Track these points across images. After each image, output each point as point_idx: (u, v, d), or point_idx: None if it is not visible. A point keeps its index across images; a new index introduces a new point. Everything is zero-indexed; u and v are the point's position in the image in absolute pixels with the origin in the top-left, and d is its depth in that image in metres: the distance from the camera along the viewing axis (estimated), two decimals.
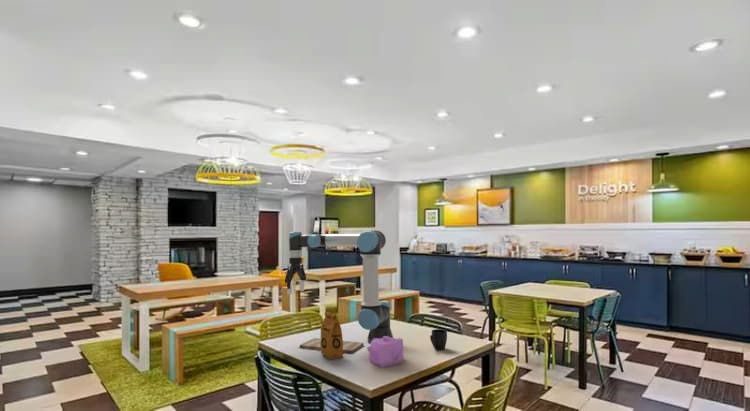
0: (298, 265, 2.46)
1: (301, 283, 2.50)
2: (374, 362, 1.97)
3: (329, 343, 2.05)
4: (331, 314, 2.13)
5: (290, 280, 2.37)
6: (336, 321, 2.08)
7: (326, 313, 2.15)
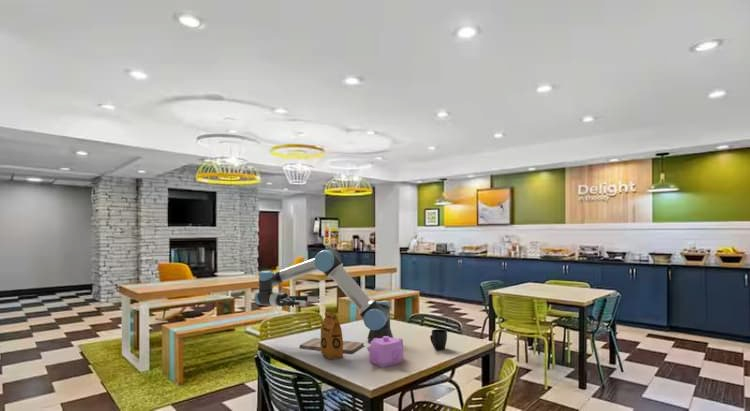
0: None
1: (310, 299, 2.33)
2: (374, 362, 1.97)
3: (329, 343, 2.05)
4: (331, 314, 2.13)
5: (291, 300, 2.21)
6: (336, 321, 2.08)
7: (326, 313, 2.15)
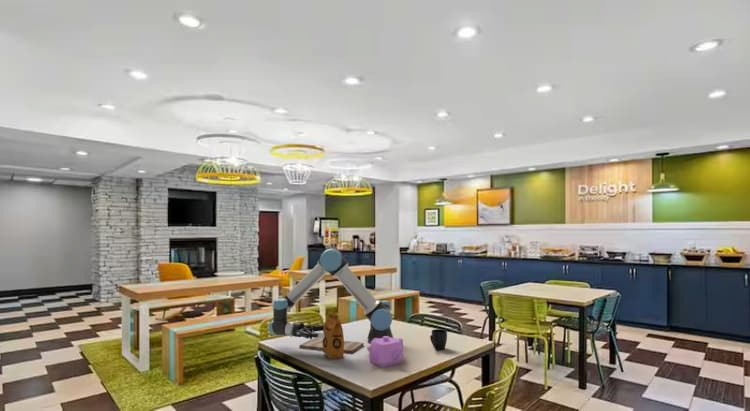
0: (305, 327, 2.18)
1: None
2: (374, 362, 1.97)
3: (329, 343, 2.04)
4: (334, 314, 2.12)
5: (309, 332, 2.07)
6: (337, 321, 2.07)
7: (329, 312, 2.14)
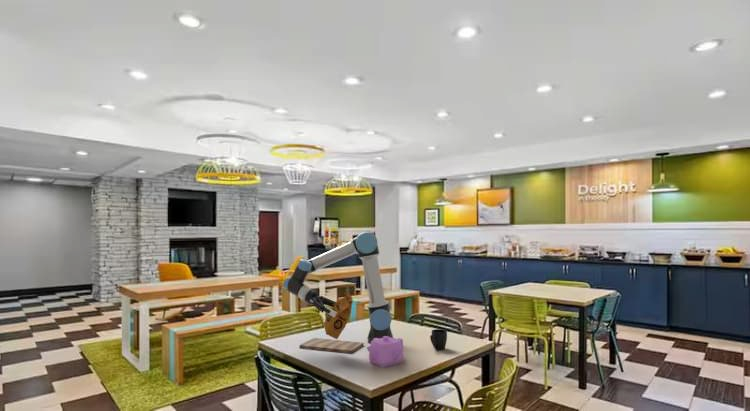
0: (317, 296, 2.22)
1: None
2: (374, 362, 1.97)
3: (332, 320, 2.10)
4: (350, 298, 2.16)
5: (323, 305, 2.11)
6: (349, 307, 2.11)
7: (347, 294, 2.18)
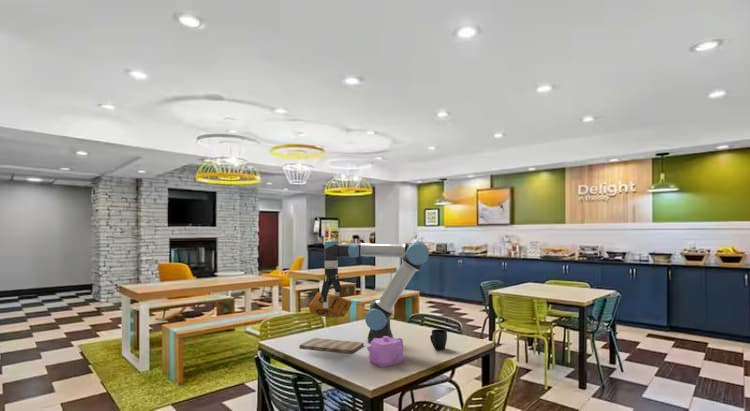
0: (334, 276, 2.30)
1: (336, 295, 2.35)
2: (374, 362, 1.97)
3: (320, 306, 2.24)
4: (347, 308, 2.26)
5: (326, 293, 2.22)
6: (338, 315, 2.22)
7: (349, 303, 2.27)
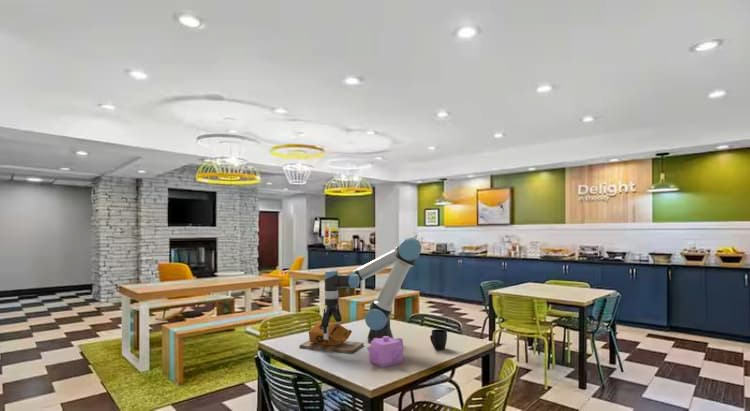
0: (334, 306, 2.29)
1: None
2: (374, 362, 1.97)
3: (320, 332, 2.24)
4: (347, 337, 2.25)
5: (327, 324, 2.21)
6: (337, 342, 2.21)
7: (349, 331, 2.27)
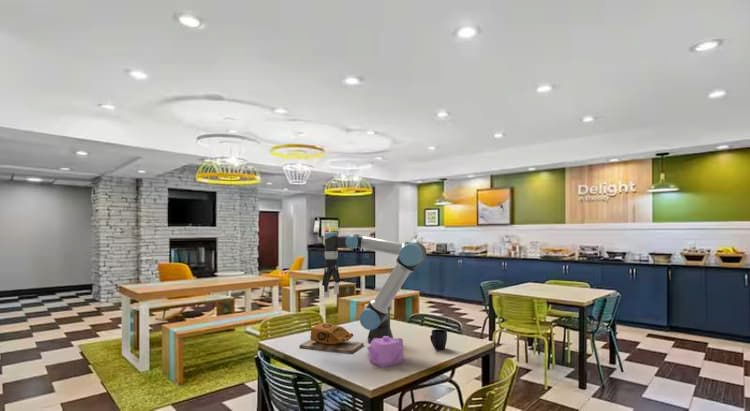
0: (334, 267, 2.36)
1: (336, 285, 2.40)
2: (374, 362, 1.97)
3: (323, 329, 2.26)
4: (348, 338, 2.26)
5: (327, 283, 2.27)
6: (338, 340, 2.22)
7: (351, 334, 2.28)
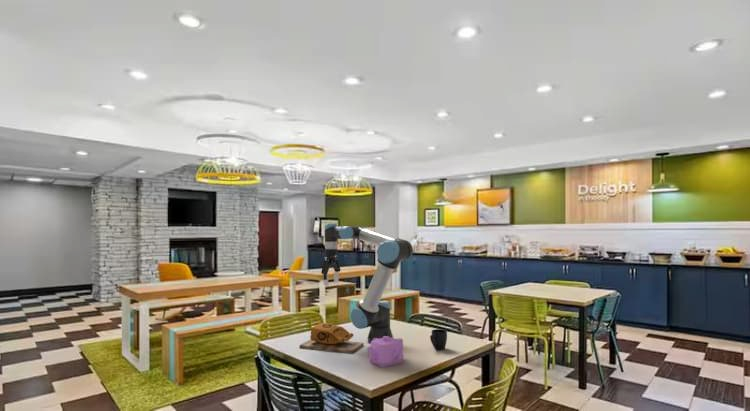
0: (333, 256, 2.48)
1: (336, 274, 2.52)
2: (374, 362, 1.97)
3: (323, 329, 2.26)
4: (348, 338, 2.26)
5: (327, 271, 2.39)
6: (338, 340, 2.22)
7: (351, 334, 2.28)
